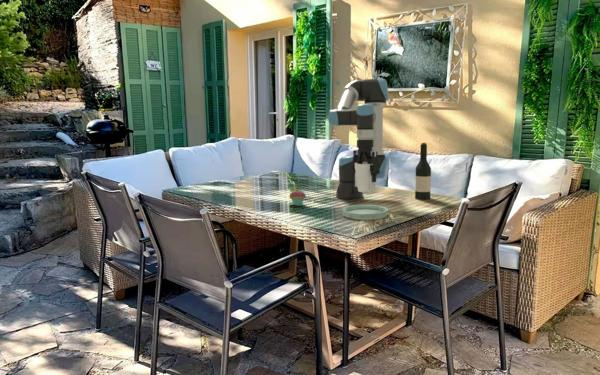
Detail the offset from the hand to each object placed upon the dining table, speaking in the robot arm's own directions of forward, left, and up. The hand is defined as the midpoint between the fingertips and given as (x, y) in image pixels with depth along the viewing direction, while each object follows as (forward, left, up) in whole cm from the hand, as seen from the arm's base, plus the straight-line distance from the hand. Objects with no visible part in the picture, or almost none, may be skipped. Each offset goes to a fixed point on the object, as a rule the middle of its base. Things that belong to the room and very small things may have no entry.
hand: (365, 187), depth 207 cm
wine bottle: (+13, +49, -13) cm, 52 cm away
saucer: (0, 0, -13) cm, 13 cm away
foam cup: (0, 0, -2) cm, 2 cm away
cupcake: (-41, +7, -13) cm, 44 cm away
